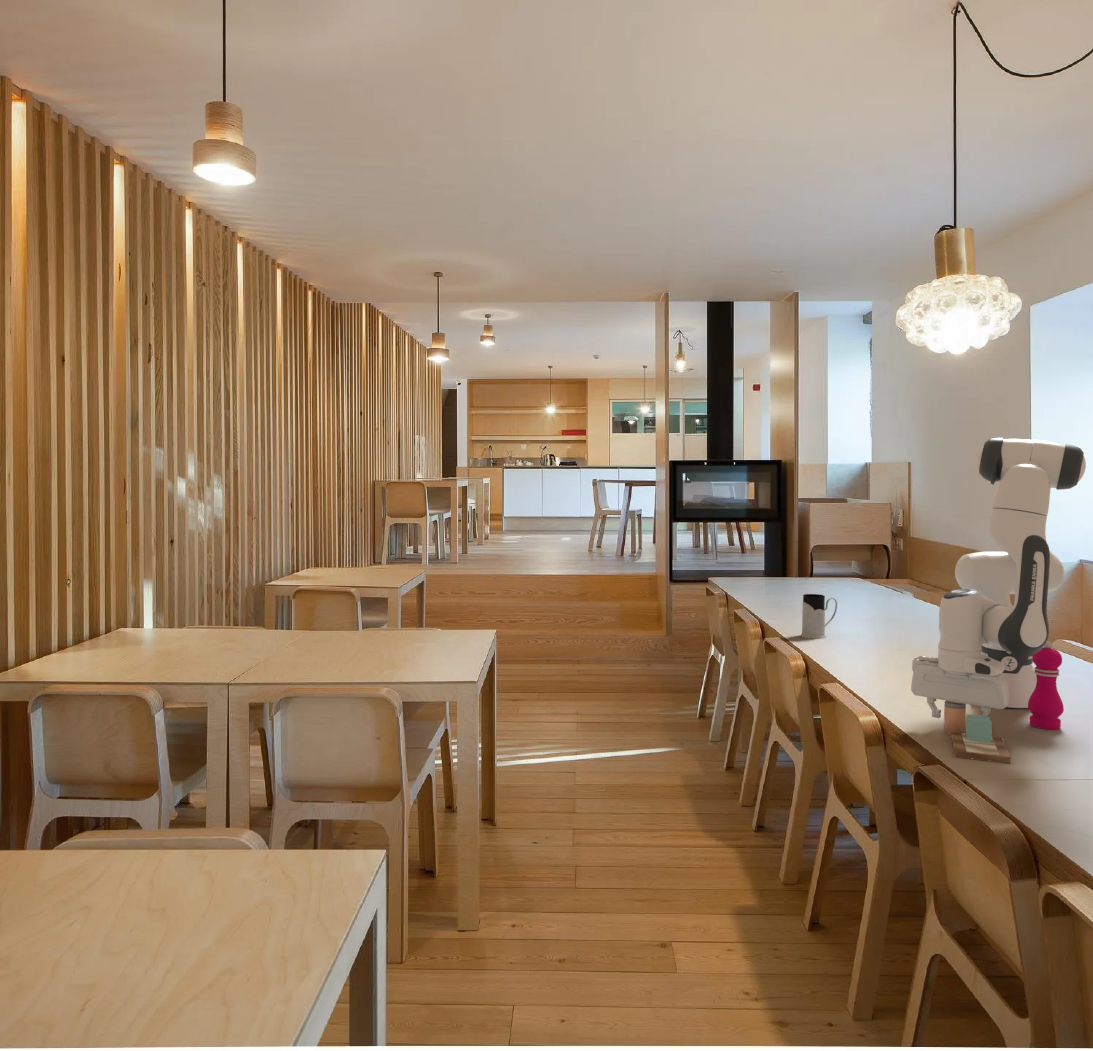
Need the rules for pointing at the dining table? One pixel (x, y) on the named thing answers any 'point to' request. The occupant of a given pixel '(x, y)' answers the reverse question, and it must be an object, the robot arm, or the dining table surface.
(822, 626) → the glass holder
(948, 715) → the peach upright cylinder
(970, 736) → the teal block
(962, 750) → the board
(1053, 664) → the pepper mill
